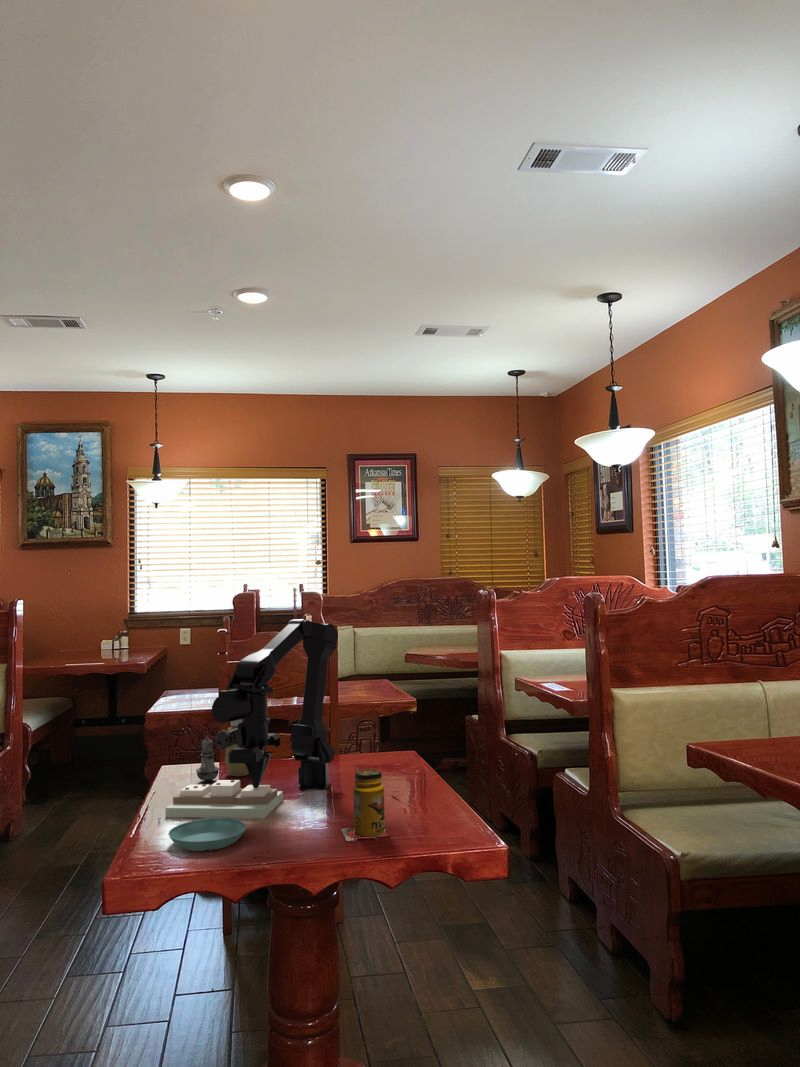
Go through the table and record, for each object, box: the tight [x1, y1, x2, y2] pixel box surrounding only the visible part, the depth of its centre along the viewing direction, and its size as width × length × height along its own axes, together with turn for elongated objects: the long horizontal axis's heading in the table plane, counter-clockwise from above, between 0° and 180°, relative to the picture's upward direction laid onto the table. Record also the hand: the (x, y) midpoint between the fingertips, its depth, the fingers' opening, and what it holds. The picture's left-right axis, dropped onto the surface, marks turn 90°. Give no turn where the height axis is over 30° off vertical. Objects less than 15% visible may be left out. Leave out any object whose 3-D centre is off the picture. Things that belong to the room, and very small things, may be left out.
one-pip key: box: [241, 784, 271, 797], centre depth 177 cm, size 5×5×3 cm
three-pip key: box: [179, 784, 211, 796], centre depth 179 cm, size 5×5×3 cm
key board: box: [164, 788, 284, 819], centre depth 178 cm, size 22×14×3 cm, turn 82°
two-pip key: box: [211, 779, 241, 797], centre depth 178 cm, size 5×5×3 cm
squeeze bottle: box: [224, 719, 250, 777], centre depth 210 cm, size 8×8×18 cm
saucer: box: [167, 818, 247, 852], centre depth 156 cm, size 15×15×3 cm
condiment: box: [341, 768, 386, 842], centre depth 158 cm, size 7×8×12 cm
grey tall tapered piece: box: [195, 735, 221, 785], centre depth 201 cm, size 6×6×12 cm
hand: (256, 787), depth 178 cm, fingers closed, pressing on one-pip key
